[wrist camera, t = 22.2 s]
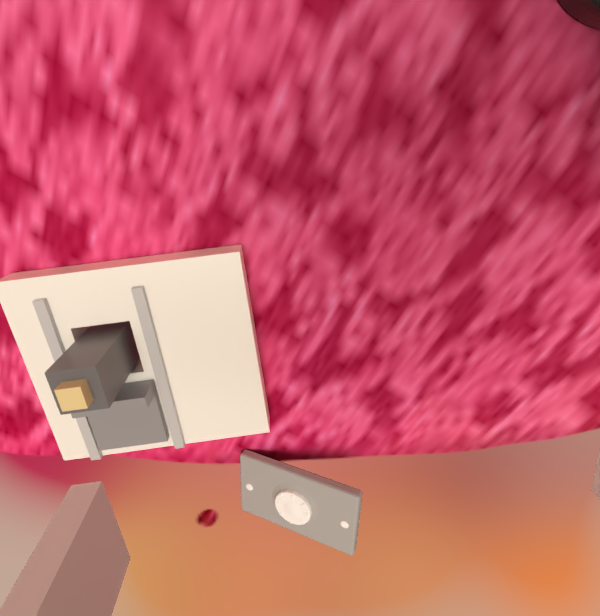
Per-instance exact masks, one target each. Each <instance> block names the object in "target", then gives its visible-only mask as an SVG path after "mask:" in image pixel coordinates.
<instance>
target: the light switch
mask: <svg viewBox="0 0 600 616" xmlns="http://www.w3.org/2000/svg"><path fill="white" fill-rule="evenodd" d="M240 473H241V509H242V510H244V511H247V512H249V513H252V514H254V515H256V516H259V517H261V518H263V519H266V520H268V521H271V522H273V523H275V524H278V525H280V526H282V527H285V528H287V529H289V530H292V531H294V532H297V533H299V534H301V535H304V536H306V537H309V538H311V539H313V540H316V541H318V542H320V543H323V544H325V545H328V546H330V547H332V548H335V549H337V550H340V551H342V552H344V553H347V554H349V555H353V554H354V552H355V549H356V544H357V535H358V526H359V518H360V510H361V502H362V491H361V490H358V489H356V488H353V487H350V486H347V485H345V484H341V483H339V482H336V481H333V480H331V479H328V478H325V477H322V476H319V475H317V474H314V473H311V472H308V471H305V470H302V469H299V468H297V467H294V466H291V465H288V464H286V463H283V462H280V461H277V460H274V459H272V458H269V457H266V456H263V455H260V454H258V453H255V452H252V451H249V450H246V449H245V450H244V451H243V452H242V453H241V455H240Z"/></svg>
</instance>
